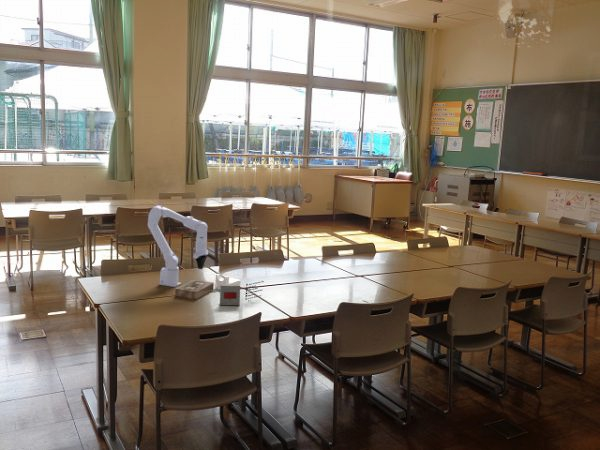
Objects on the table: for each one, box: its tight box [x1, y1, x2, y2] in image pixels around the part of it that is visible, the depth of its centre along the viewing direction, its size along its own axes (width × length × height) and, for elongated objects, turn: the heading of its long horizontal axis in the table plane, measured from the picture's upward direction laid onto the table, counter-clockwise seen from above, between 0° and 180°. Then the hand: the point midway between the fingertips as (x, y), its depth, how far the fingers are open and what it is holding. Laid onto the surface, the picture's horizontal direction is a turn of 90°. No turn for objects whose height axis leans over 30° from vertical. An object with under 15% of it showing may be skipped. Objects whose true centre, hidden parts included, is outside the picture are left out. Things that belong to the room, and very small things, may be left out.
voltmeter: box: [219, 280, 265, 306], centre depth 284 cm, size 27×11×10 cm, turn 137°
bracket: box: [214, 273, 242, 290], centre depth 309 cm, size 13×7×8 cm, turn 148°
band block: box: [174, 279, 215, 300], centre depth 293 cm, size 12×20×4 cm, turn 164°
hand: (200, 268), depth 306 cm, fingers closed
